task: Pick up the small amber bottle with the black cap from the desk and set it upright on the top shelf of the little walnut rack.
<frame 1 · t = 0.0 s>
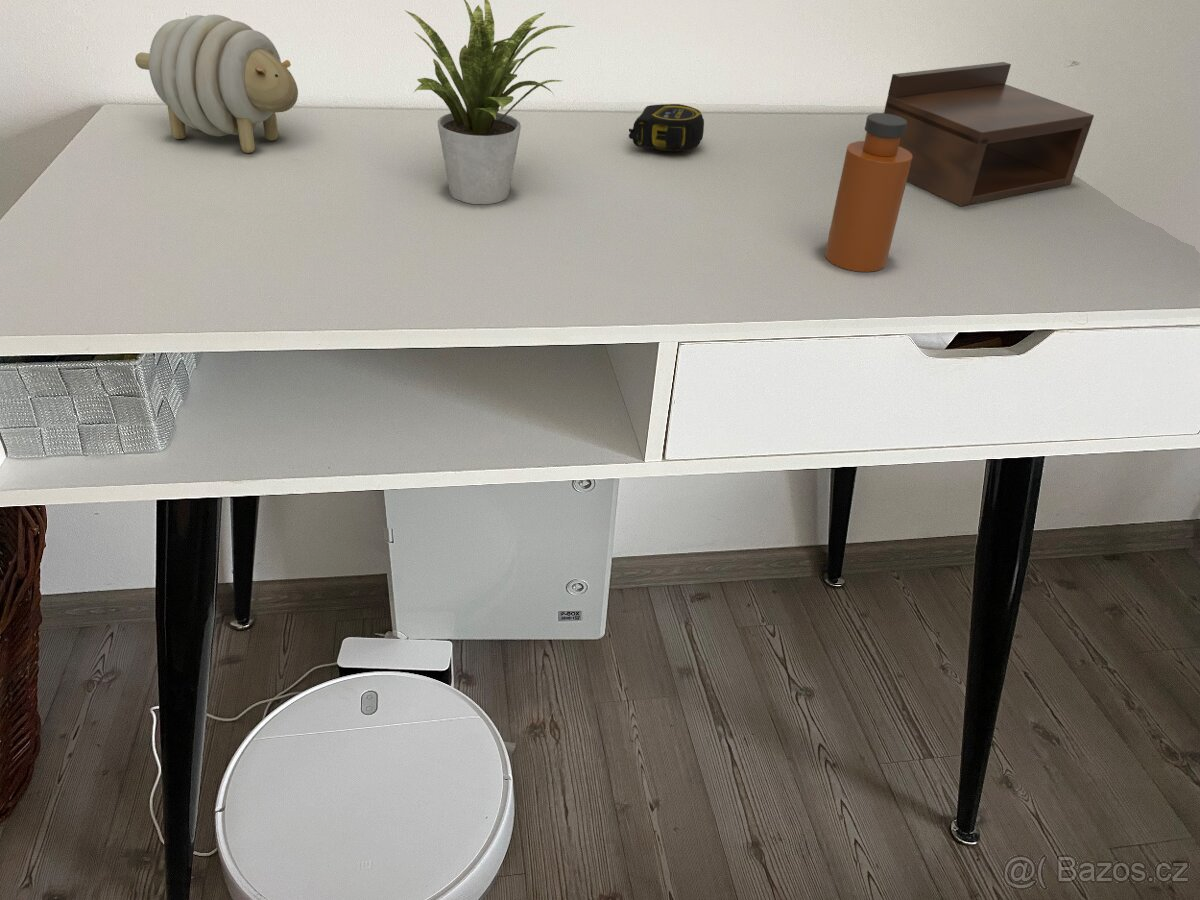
tape measure: (660, 149, 103), on the table
house plant: (491, 199, 89), on the table
rack: (970, 174, 103), on the table
toy sheep: (226, 139, 97), on the table
bottle: (855, 258, 83), on the table
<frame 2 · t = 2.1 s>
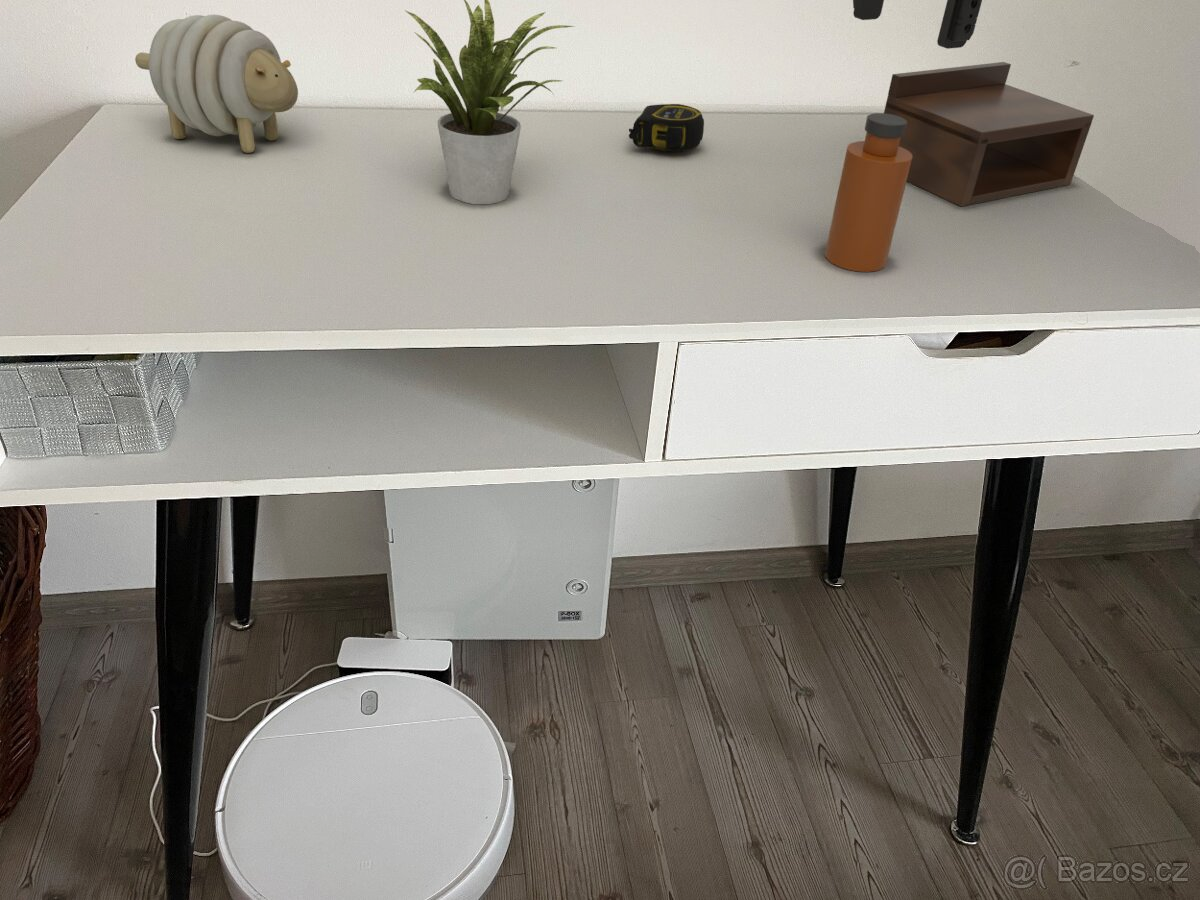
hand: (906, 32, 73), 18 cm above the table, tool pointing down, fingers open, 8 cm apart
nothing on the table moved.
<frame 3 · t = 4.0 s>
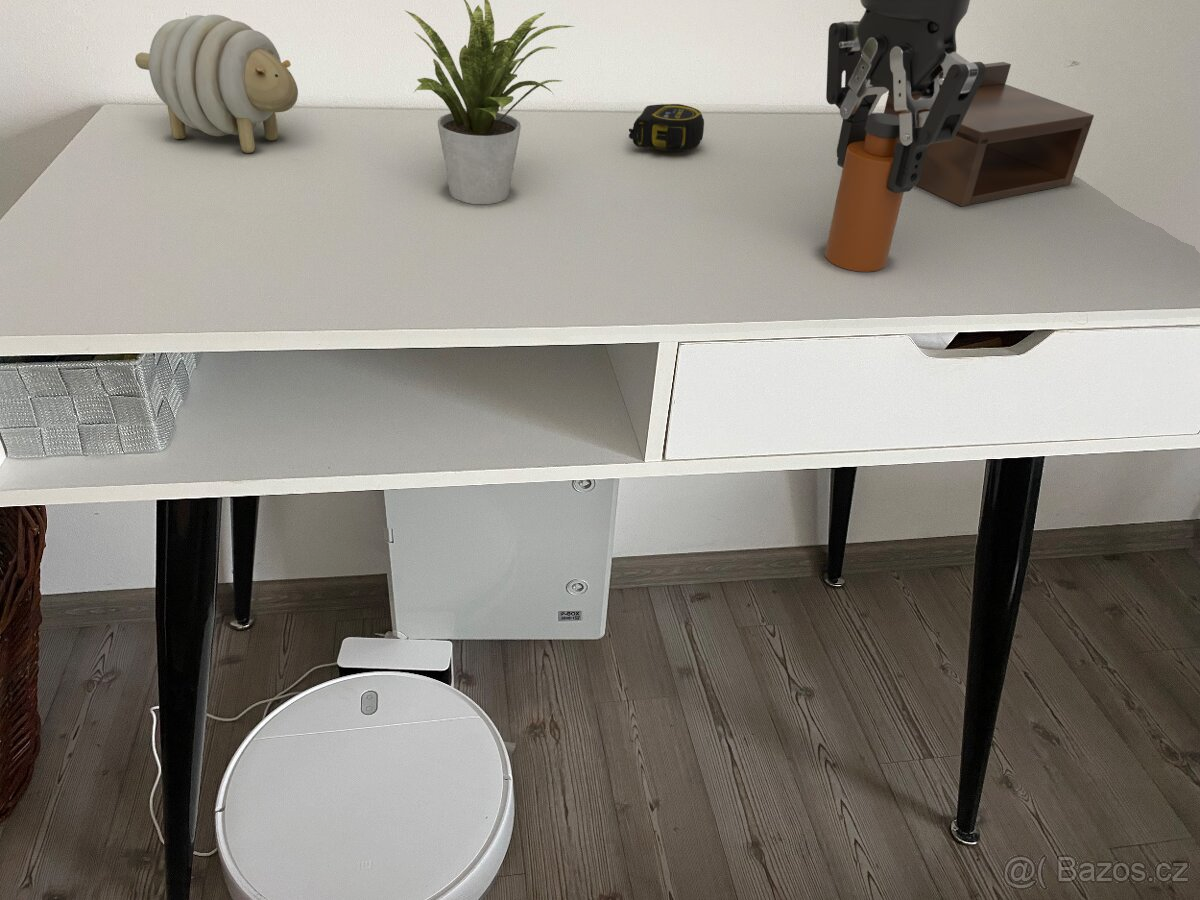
hand: (873, 177, 80), 7 cm above the table, tool pointing down, fingers closed on bottle, 5 cm apart
bottle: (855, 258, 83), on the table, touching gripper
everything else where it was.
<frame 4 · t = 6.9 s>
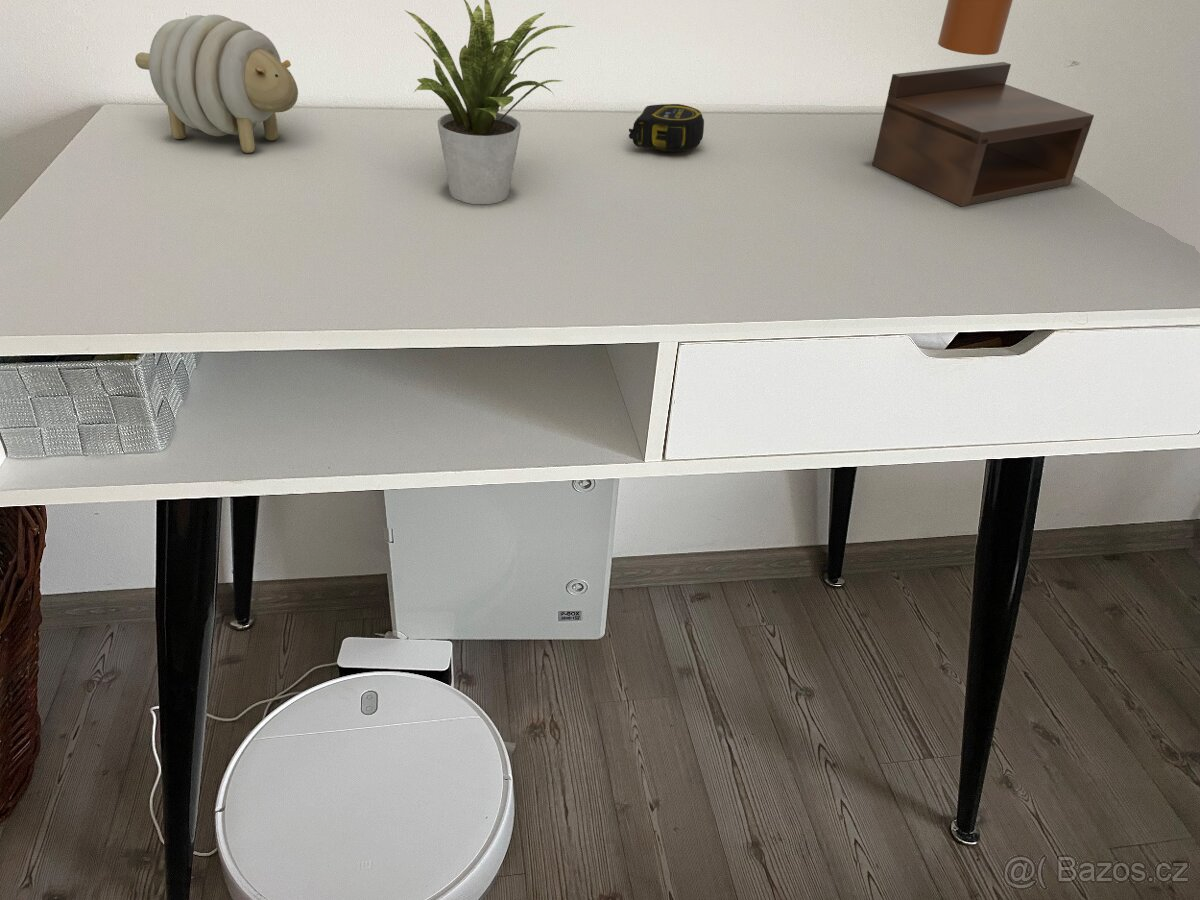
bottle: (967, 47, 86), point 14 cm above the table, touching gripper
everything else where it was.
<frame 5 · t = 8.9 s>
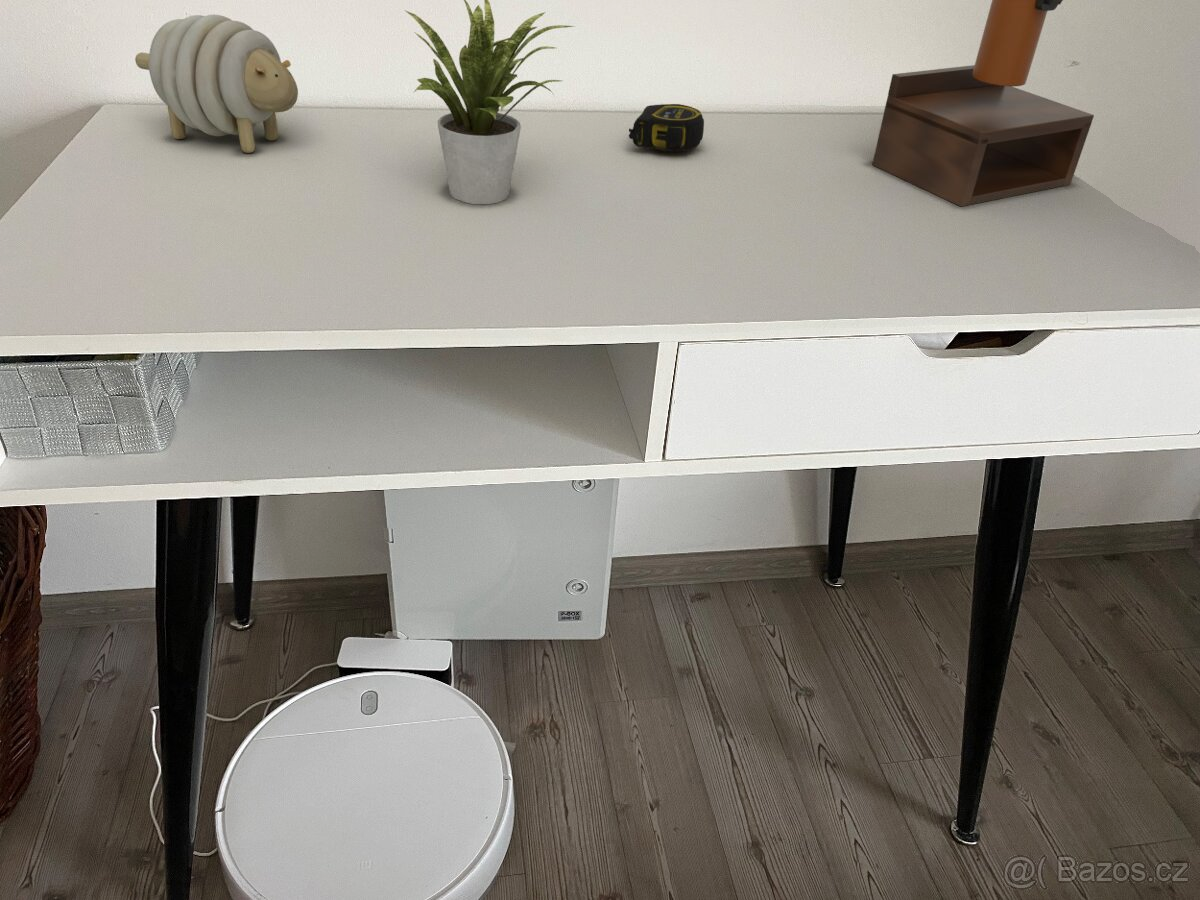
hand: (1020, 2, 93), 16 cm above the table, tool pointing down, fingers closed on bottle, 5 cm apart
bottle: (998, 79, 97), point 9 cm above the table, touching gripper
everything else where it was.
when the fingers open (14 cm above the table, at t = 10.1 s): bottle stays where it is, resting on rack.
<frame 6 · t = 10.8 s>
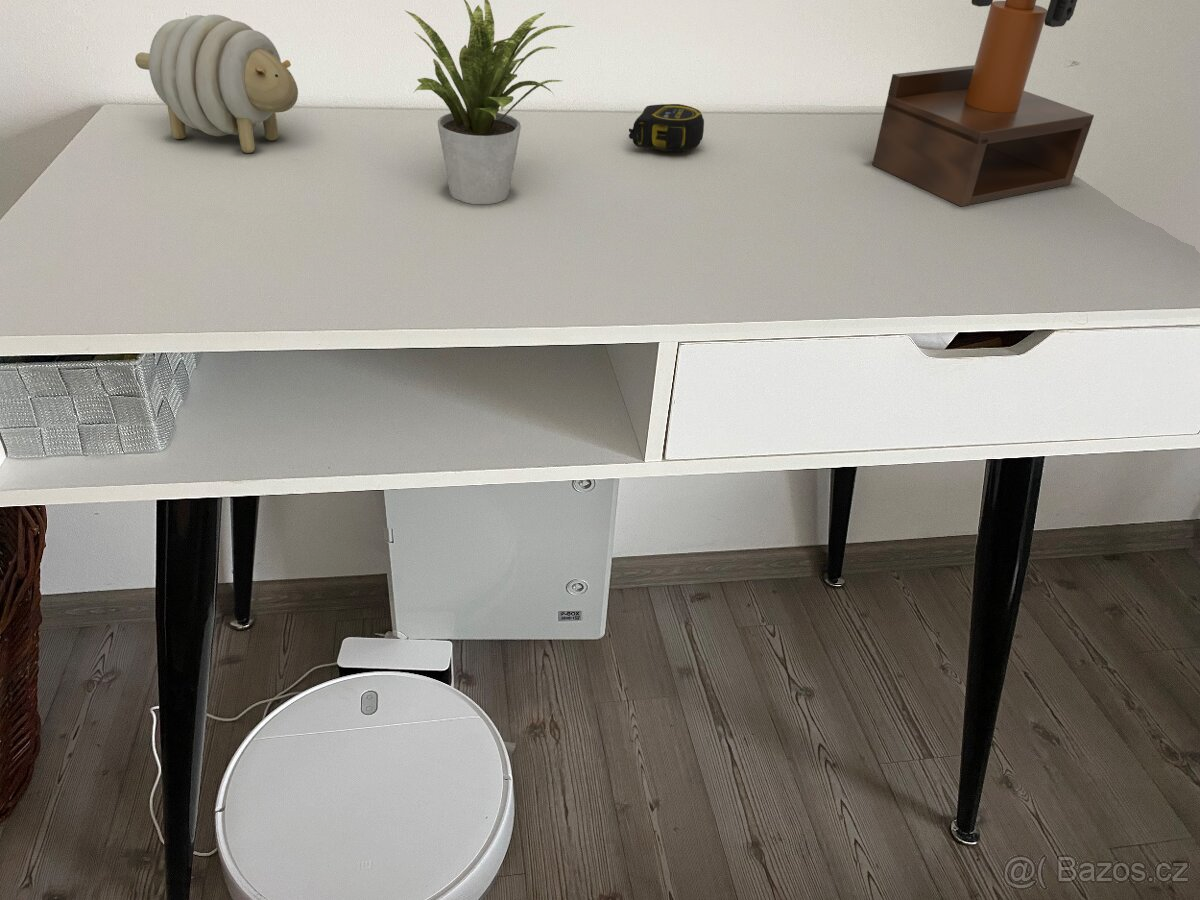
hand: (1016, 15, 94), 15 cm above the table, tool pointing down, fingers open, 8 cm apart
bottle: (991, 105, 99), point 7 cm above the table, touching rack
everything else where it was.
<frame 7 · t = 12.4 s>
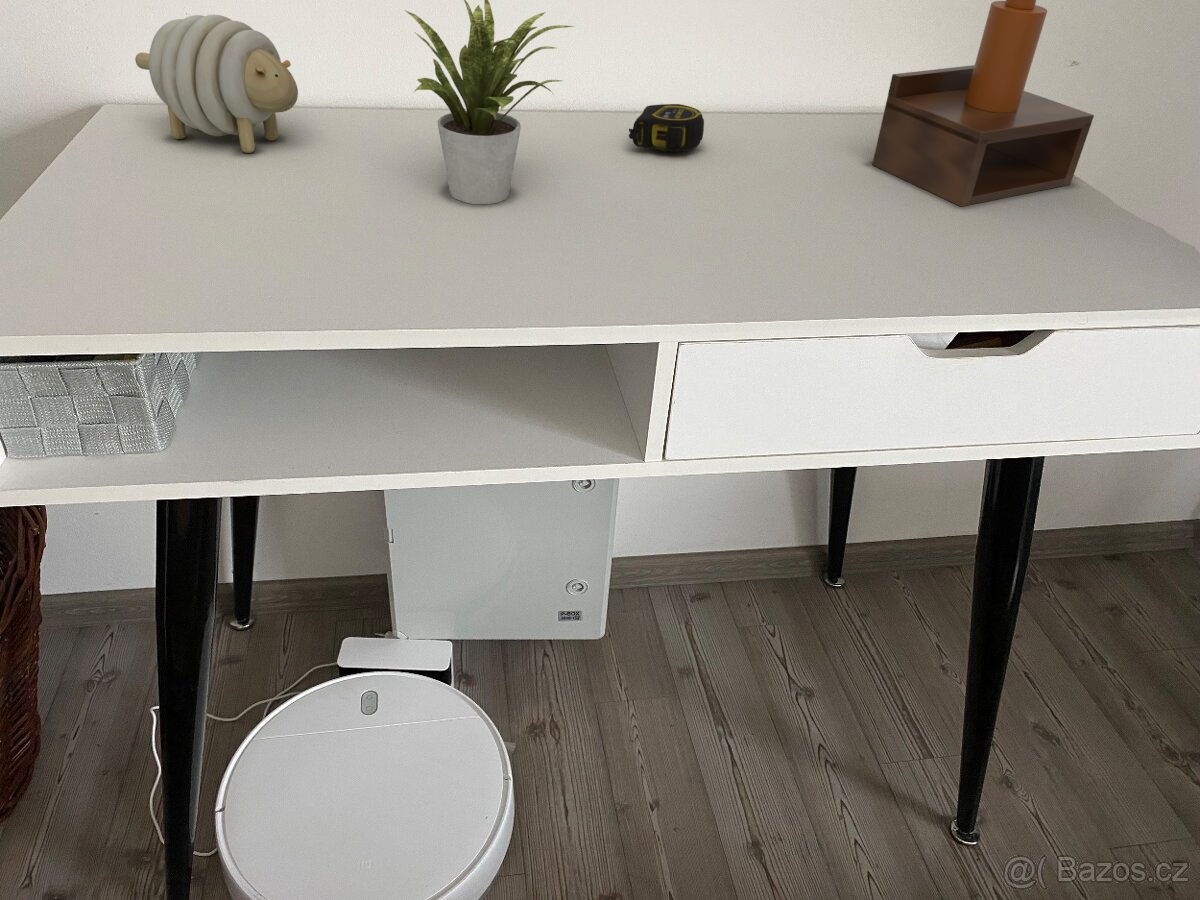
nothing on the table moved.
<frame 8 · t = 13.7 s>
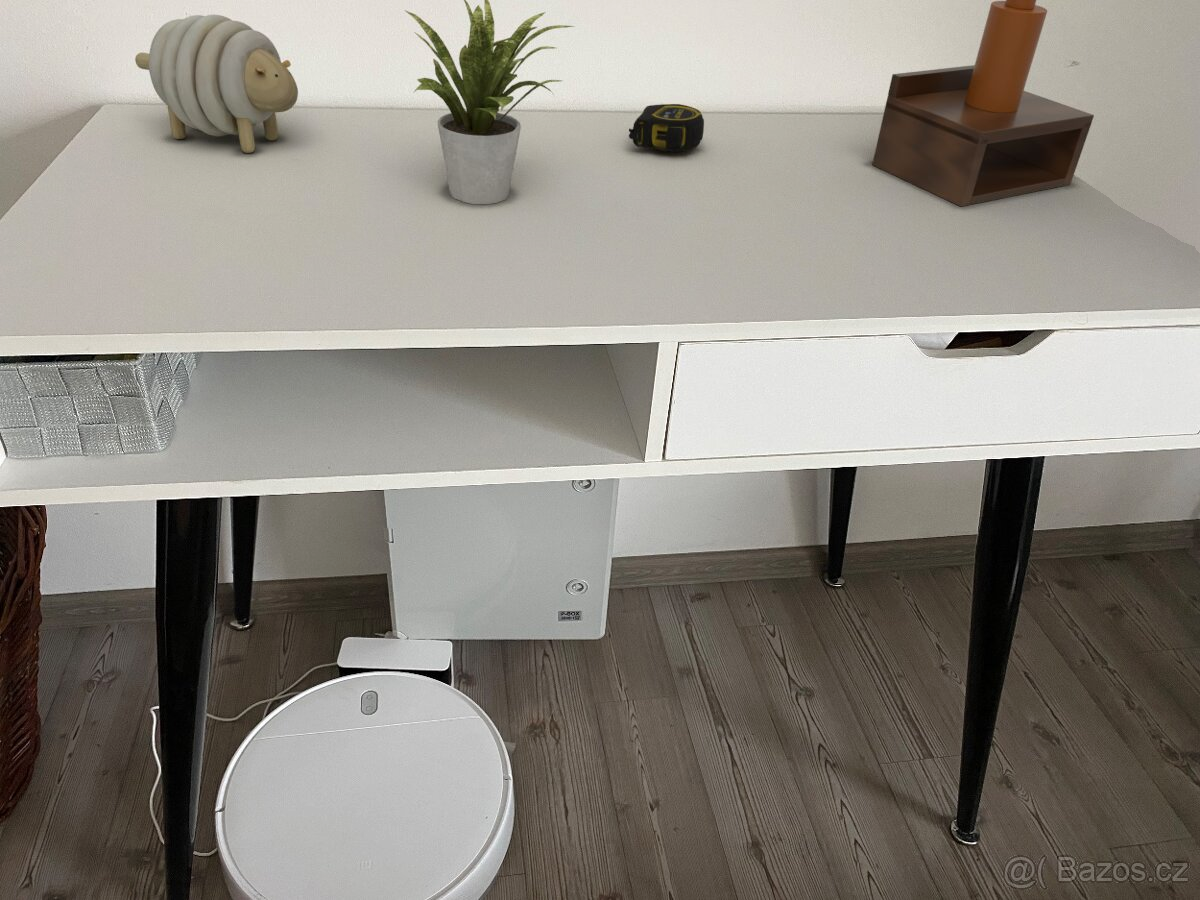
nothing on the table moved.
at the end: bottle inside the target area on the rack (0.1 cm from its centre), point 7.0 cm above the rack's base; bottle tilted 0°; the gripper is holding nothing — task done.
